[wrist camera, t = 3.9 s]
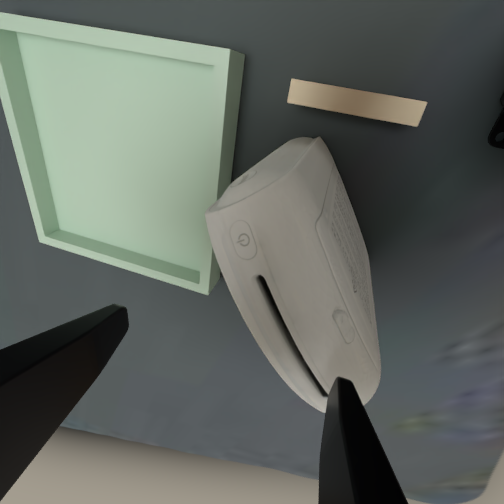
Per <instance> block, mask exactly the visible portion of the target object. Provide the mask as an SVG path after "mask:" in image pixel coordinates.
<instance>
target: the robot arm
mask: <svg viewBox="0 0 504 504" xmlns="http://www.w3.org/2000/svg"><path fill="white" fill-rule="evenodd" d="M501 103H502V105H503V106H504V94H503V96H502V98H501ZM500 132H504V108H503V110H502V112H501V113H500V115H499V117H498V119H497V121H496V123H495V124H494V126H493V128H492V130H491V132H490V134H489V136H488V143H489V144H490V145H491V146H494V147H497V148H502V149H504V139H503V140H502V141H500V142H496V140H495V137H496V135H497V134H498V133H500ZM128 327H129V322H128V313H127V309H126V307H124V306H121V305H118V304H112V305H109V306H107V307H104V308H102V309H99V310H97V311H94V312H92V313H89V314H87V315H84V316H82V317H80V318H77V319H75V320H72V321H70V322H67V323H65V324H62V325H60V326H57V327H55V328H52V329H50V330H48V331H45V332H43V333H40V334H38V335H35V336H33V337H30V338H28V339H25V340H23V341H21V342H18V343H16V344H13V345H11V346H8V347H6V348H3V349H1V350H0V501H1V500H2V499H3V497H4V496H5V495H6V493H7V492H8V491H9V490H10V488H11V487H12V486H13V484H14V483H15V482H16V481H17V479H18V478H19V477H20V475H21V474H22V473H23V472H24V470H25V469H26V468H27V467H28V465H29V464H30V463H31V461H32V460H33V459H34V458H35V456H36V455H37V454H38V452H39V451H40V450H41V448H42V447H43V446H44V445H45V444H46V442H47V441H48V439H49V438H50V437H51V436H52V434H53V433H54V432H55V431H56V430H57V428H58V427H59V426H60V424H61V423H62V422H63V421H64V419H65V418H66V417H67V416H68V414H69V413H70V412H71V410H72V409H73V408H74V407H75V405H76V404H77V403H78V401H79V400H80V399H81V398H82V396H83V395H84V394H85V393H86V391H87V390H88V389H89V387H90V386H91V385H92V384H93V382H94V381H95V380H96V378H97V377H98V376H99V374H100V373H101V372H102V370H103V369H104V367H105V366H106V364H107V362H108V361H109V359H110V358H111V356H112V355H113V353H114V351H115V350H116V348H117V347H118V345H119V344H120V342H121V340H122V339H123V337H124V336H125V334H126V332H127V330H128ZM318 504H408V502H407V500H406V497H405V495H404V493H403V491H402V489H401V487H400V484H399V482H398V480H397V478H396V476H395V473H394V471H393V469H392V467H391V465H390V463H389V460H388V458H387V456H386V454H385V452H384V449H383V447H382V445H381V443H380V441H379V439H378V436H377V434H376V432H375V430H374V428H373V426H372V423H371V421H370V419H369V417H368V415H367V412H366V410H365V408H364V406H363V404H362V402H361V399H360V397H359V395H358V393H357V391H356V388H355V386H354V384H353V382H352V381H351V380H349V379H346V378H343V377H340V376H338V377H336V379H335V381H334V383H333V385H332V388H331V390H330V392H329V395H328V399H327V406H326V413H325V420H324V428H323V435H322V443H321V451H320V464H319V503H318Z"/></svg>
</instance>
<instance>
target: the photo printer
mask: <svg viewBox="0 0 504 504" xmlns="http://www.w3.org/2000/svg"><path fill="white" fill-rule="evenodd" d="M205 218H206V223H207V228H208V232H209V236H210V241H211V244H212V247H213V250H214V253H215V256H216V259H217V262H218V264H219V267H220V269H221V272H222V274H223V277H224V279H225V281H226V284H227V286H228V289H229V291H230V293H231V295H232V297H233V299H234V301H235V303H236V305H237V307H238V309H239V311H240V313H241V315H242V317H243V319H244V321H245V323H246V324H247V326H248V328H249V330H250V331H251V333H252V335H253V337H254V338H255V340H256V342H257V343H258V345H259V347H260V348H261V350H262V351H263V353H264V354H265V356H266V357H267V359H268V360H269V362H270V363H271V364H272V366H273V367H274V369H275V370H276V371H277V373H278V374H279V375H280V376H281V378H282V379H283V380H284V381H285V382H286V383H287V384H288V386H289V387H290V388H291V389H292V390H293V391H294V392H295V393H296V394H297V395H298V396H300V397H301V398H302V399H303V400H304V401H306V402H307V403H308V404H310V405H311V406H313V407H314V408H316V409H318V410H319V411H321V412H324V413H326V406H327V399H328V395H329V392H330V390H331V388H332V385H333V383H334V381H335V379H336V377H338V376H340V377H343V378H346V379H349V380H351V381H352V382H353V384H354V386H355V388H356V391H357V393H358V395H359V397H360V399H361V402H362V404H363V406H364V405H365V404H366V403H367V402H368V401H369V400H370V399H371V398H372V396H373V395H374V393H375V392H376V390H377V387H378V385H379V382H380V377H381V360H380V351H379V343H378V335H377V326H376V318H375V309H374V300H373V291H372V282H371V273H370V264H369V257H368V253H367V249H366V246H365V243H364V240H363V237H362V234H361V231H360V228H359V225H358V222H357V219H356V216H355V214H354V211H353V208H352V205H351V203H350V200H349V197H348V195H347V192H346V189H345V187H344V184H343V182H342V179H341V177H340V174H339V172H338V170H337V167H336V165H335V162H334V160H333V157H332V155H331V153H330V151H329V150H328V148H327V146H326V144H325V143H324V141H323V140H322V139H321V137H320V136H319V137H317V138H315V139H313V138H309V137H298V138H295V139H292V140H290V141H288V142H286V143H285V144H283V145H282V146H280V147H279V148H278V149H276V150H275V151H273V152H272V153H271V154H269V155H268V156H267V157H265V158H264V159H263V160H261V161H260V162H258V163H257V164H256V165H255V166H253V167H252V168H250V169H249V170H248V171H246V172H245V173H244V174H242V175H241V176H240V177H238V178H237V179H236V180H235V181H233V182H232V183H231V184H230V185H229V187H228V188H227V189H226V191H225V192H224V194H223V195H222V197H221V198H220V199H219V200H217V201H216V202H215V203H214V204H212V205H211V206H210V207H209V208H208V209H207V210H206V212H205Z"/></svg>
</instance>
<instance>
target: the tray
mask: <svg viewBox="0 0 504 504" xmlns="http://www.w3.org/2000/svg"><path fill="white" fill-rule="evenodd" d="M244 60H245V54H242V53H239V52H237V51H234V50H231V49H226V48H220V47H214V46H207V45H201V44H195V43H189V42H182V41H176V40H170V39H164V38H157V37H151V36H145V35H139V34H132V33H126V32H120V31H114V30H107V29H101V28H95V27H89V26H82V25H76V24H70V23H64V22H57V21H51V20H45V19H39V18H32V17H26V16H20V15H14V14H8V13H1V12H0V97H1V101H2V105H3V109H4V112H5V116H6V120H7V123H8V127H9V131H10V135H11V138H12V142H13V146H14V149H15V153H16V157H17V161H18V164H19V168H20V172H21V175H22V179H23V183H24V187H25V190H26V194H27V198H28V201H29V205H30V209H31V213H32V216H33V220H34V224H35V227H36V231H37V235H38V239H39V242H41V243H44V244H48V245H51V246H54V247H57V248H60V249H63V250H67V251H70V252H73V253H76V254H79V255H82V256H85V257H89V258H92V259H95V260H98V261H101V262H104V263H108V264H111V265H114V266H117V267H120V268H123V269H127V270H130V271H133V272H136V273H139V274H142V275H145V276H149V277H152V278H155V279H158V280H161V281H164V282H168V283H171V284H174V285H177V286H180V287H183V288H187V289H190V290H193V291H196V292H199V293H202V294H205V295H209V293H210V292H211V290H212V289H213V288H214V286H215V285H216V283H217V282H218V280H219V279H220V274H221V269H220V267H219V264H218V262H217V259H216V256H215V253H214V250H213V247H212V244H211V241H210V236H209V232H208V228H207V223H206V218H205V212H206V210H207V209H208V208H209V207H210V206H211V205H212V204H214V203H215V202H216V201H217V200H219V199H220V198H221V197H222V195H223V194H224V192H225V191H226V189H227V188H228V187H229V185H230V184H231V176H232V167H233V158H234V149H235V140H236V131H237V122H238V113H239V104H240V96H241V87H242V78H243V69H244Z"/></svg>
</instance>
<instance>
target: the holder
mask: <svg viewBox="0 0 504 504" xmlns="http://www.w3.org/2000/svg"><path fill="white" fill-rule="evenodd" d="M287 103H292V104H297V105H303V106H308V107H313V108H319V109H324V110H329V111H335V112H340V113H346V114H351V115H356V116H362V117H367V118H372V119H378V120H383V121H388V122H394V123H399V124H404V125H410V126H415V127H417V126H418V124H419V122H420V119H421V117H422V114H423V112H424V110H425V107H426V105H427V102H425V101H419V100H413V99H407V98H401V97H396V96H390V95H384V94H378V93H372V92H366V91H361V90H355V89H349V88H343V87H337V86H332V85H326V84H320V83H314V82H308V81H302V80H297V79H291V84H290V90H289V95H288V100H287Z"/></svg>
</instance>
